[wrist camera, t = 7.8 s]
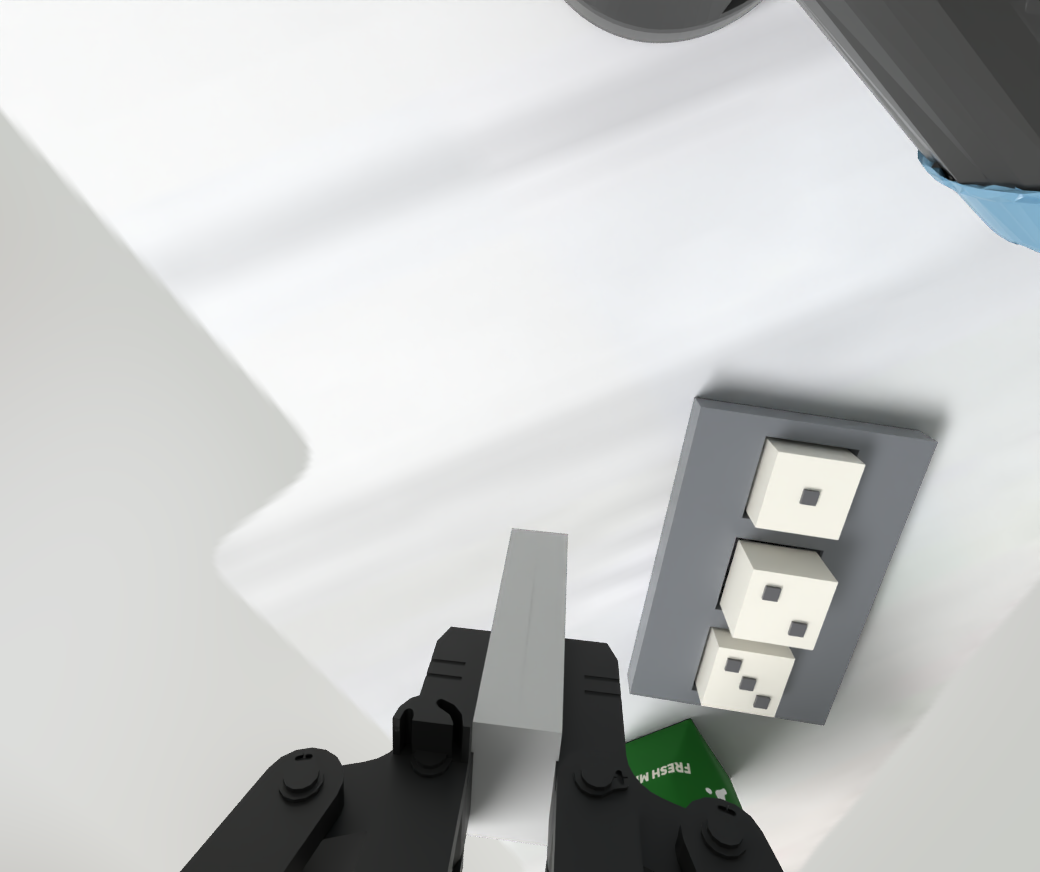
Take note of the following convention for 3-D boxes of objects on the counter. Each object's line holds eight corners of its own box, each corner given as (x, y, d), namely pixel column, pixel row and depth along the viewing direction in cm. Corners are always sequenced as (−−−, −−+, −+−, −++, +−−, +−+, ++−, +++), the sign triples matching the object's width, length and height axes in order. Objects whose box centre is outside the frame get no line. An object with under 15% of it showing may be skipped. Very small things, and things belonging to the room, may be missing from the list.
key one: (760, 431, 38) (779, 452, 35) (840, 443, 38) (867, 466, 35) (740, 501, 40) (756, 529, 37) (816, 513, 40) (839, 541, 36)
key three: (707, 614, 43) (719, 649, 40) (778, 625, 43) (796, 661, 40) (691, 669, 45) (701, 707, 42) (759, 680, 45) (775, 719, 41)
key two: (738, 539, 39) (754, 571, 36) (816, 551, 39) (839, 584, 36) (719, 603, 41) (733, 639, 38) (793, 615, 41) (814, 652, 37)
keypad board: (694, 397, 38) (700, 406, 36) (919, 430, 38) (937, 442, 36) (627, 674, 46) (629, 693, 44) (813, 704, 45) (823, 725, 44)
